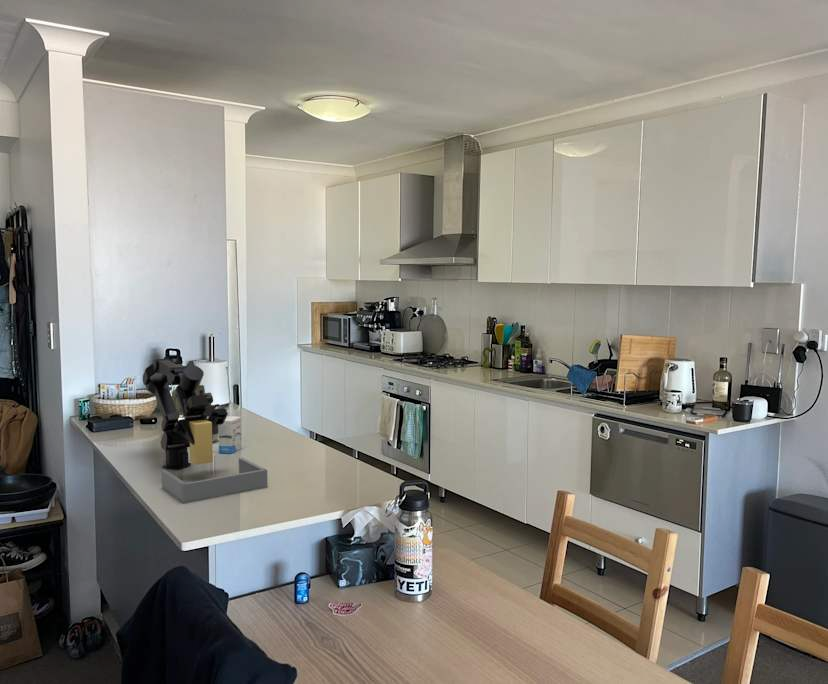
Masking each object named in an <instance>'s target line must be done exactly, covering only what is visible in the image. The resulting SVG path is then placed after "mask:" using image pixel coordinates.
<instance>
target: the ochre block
mask: <svg viewBox="0 0 828 684" xmlns="http://www.w3.org/2000/svg"><path fill="white" fill-rule="evenodd" d="M189 427H190V430H191V433H192V435H193V438H194V442H195V443H194V445H192V444H191V443H190V447H189V461H190V463H191V464H192V463H193V465H196V466H198V465H203V464H211V463H213V462H214V459H213V457H214V455H213V451H214V450H213V442H212V422H210V421H208V420H198V421H190V422H189Z"/></svg>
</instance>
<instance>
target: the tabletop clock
mask: <svg viewBox="0 0 828 684" xmlns="http://www.w3.org/2000/svg"><path fill="white" fill-rule="evenodd" d="M175 390H176V388H175V389H173V390H172V392H171V397H172V399H173V402H174V404H175V407H176V409H177V412H178V413H179V416H181V415H183V413H182V412H180V404H179V400H178V397H176V391H175ZM196 393H197V395H204V394H205V393H206V390H205V385H203V384H200V385H199V388H198V389H197V390H196Z"/></svg>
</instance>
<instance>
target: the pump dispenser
mask: <svg viewBox="0 0 828 684" xmlns="http://www.w3.org/2000/svg"><path fill="white" fill-rule="evenodd" d="M205 408H206V410H205V412H203V413H204V414H211V412H212V410H213V409H215V408H220V404H219V403H216V404H212V403H211V404H208V406H206V407H205ZM218 438H219V434H218V425H215V426H214V427H213V440H212V443H214V442H215V441H216V440H217V439H218Z"/></svg>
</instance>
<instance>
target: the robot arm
mask: <svg viewBox="0 0 828 684" xmlns="http://www.w3.org/2000/svg"><path fill="white" fill-rule="evenodd" d="M203 377H204V370H203V369H202V368H201V367H199V366H197V365H195V363H194V362H191V363H187V364H186V365H178V364H177V363H175V362H174V361H171V358H170V359H169V358H167V357H166V358H156V359H154V360H153V361H152V363H151V364H150V365H149V366H148V367H146V368H145V369H144V372H143V374H142V383H143V385H144V386H145V387H146V390H147V391H148V392H149V393H151V394H152V395H154V397H155V399H156V402H157V404H158V408H159V412H160V413H161V416H162V418H163V419H162V421H161V424H160V425H161V430H162V432H163V434H162V437H161V440H160V448H161V449H162V450H163V451H165V464H163V465H162V468H164V469H173V470H180V469H183V468H186V467H188V466H192V462H189V451H188V448H190V443H191V444H192V445H194V443H195V442H194V438H193V435H192V433H191V430H190V427H189V422H190V421H198V420H208V421H210V422H212V440H213V427H214V426H215V425H221V424H223V423H224V421H225V419H226V417H228V414H229V412H228V410H227V408H225V407H217V408H215V409H213V410H212V412H211V414H204V413H203V412H205V410H206V408H205V407H206V406H208V404H211V405H212V403H214V397H213V394H212V392H205V394H204V395H197V393H196V390H197V389H198V388H199V385H201V382H202V380H203ZM170 385H171V386H176V388H175V389H176V390H175V389H174V390H175V391H176V397H178V400H179V404H180V412H182V413H183V415H181V416H179V413H178V412H177V409H176V407H175V404H174V402H173V399H172V393H171V392H170V389H169V387H170Z"/></svg>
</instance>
